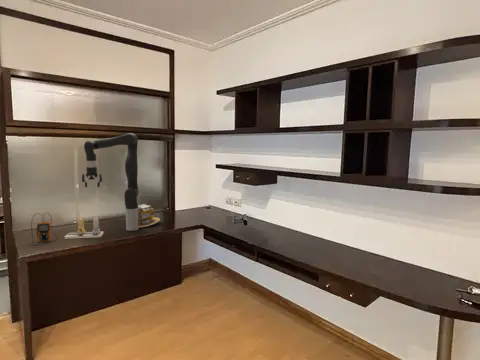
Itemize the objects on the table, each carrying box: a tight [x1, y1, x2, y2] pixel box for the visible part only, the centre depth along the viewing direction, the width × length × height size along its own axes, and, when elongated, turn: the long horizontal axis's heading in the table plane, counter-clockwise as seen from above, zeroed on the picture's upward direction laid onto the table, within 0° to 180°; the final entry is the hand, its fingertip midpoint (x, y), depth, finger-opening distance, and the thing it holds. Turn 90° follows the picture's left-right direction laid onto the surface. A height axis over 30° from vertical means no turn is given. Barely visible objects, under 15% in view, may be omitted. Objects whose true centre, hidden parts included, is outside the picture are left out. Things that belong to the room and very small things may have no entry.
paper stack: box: [138, 203, 161, 228], centre depth 272 cm, size 25×25×17 cm
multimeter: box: [30, 212, 58, 246], centre depth 220 cm, size 15×10×20 cm
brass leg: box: [76, 217, 86, 235], centre depth 235 cm, size 4×6×11 cm
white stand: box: [64, 217, 105, 240], centre depth 237 cm, size 24×10×13 cm, turn 102°
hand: (92, 187), depth 254 cm, fingers open, 8 cm apart
